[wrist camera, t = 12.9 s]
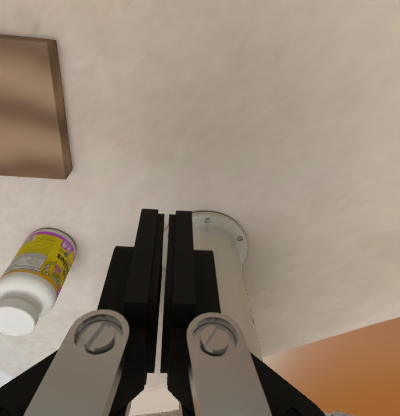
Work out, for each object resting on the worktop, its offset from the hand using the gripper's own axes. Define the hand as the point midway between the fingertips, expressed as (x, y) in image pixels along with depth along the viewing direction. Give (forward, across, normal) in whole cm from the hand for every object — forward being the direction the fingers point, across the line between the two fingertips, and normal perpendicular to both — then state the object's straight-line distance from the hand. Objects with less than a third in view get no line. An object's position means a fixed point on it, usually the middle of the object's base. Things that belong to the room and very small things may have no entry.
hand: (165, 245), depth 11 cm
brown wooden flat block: (+27, +20, +4) cm, 34 cm away
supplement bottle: (+27, +16, +23) cm, 39 cm away
